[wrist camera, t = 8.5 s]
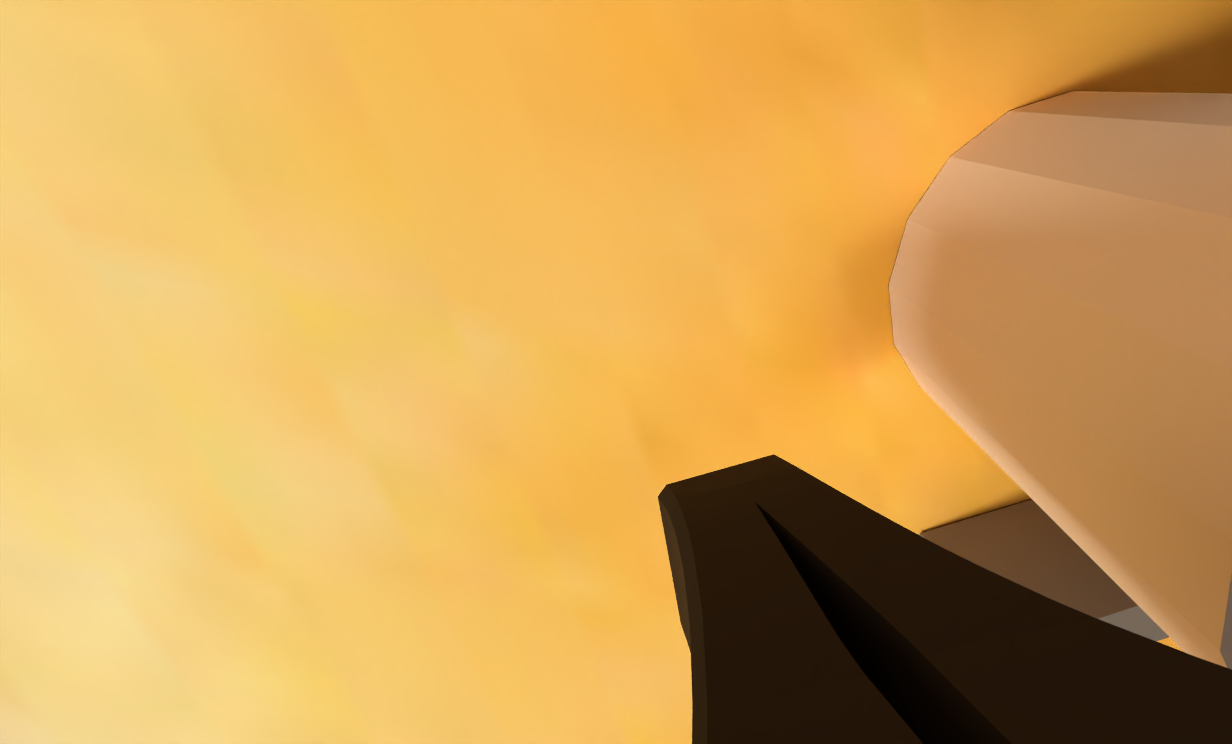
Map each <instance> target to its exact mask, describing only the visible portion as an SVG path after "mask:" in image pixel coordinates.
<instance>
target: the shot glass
mask: <svg viewBox="0 0 1232 744" xmlns="http://www.w3.org/2000/svg"><path fill="white" fill-rule="evenodd" d="M889 294H890V305H891V316H892V327H893V339H894V345H895V347H896V348H897V350H898V351H899V353H900V355H901V356H902V358H903V360H904V361H905V363H906V365H907V366H908V368H909V369H910V371H911V373H912V374H913V376H914V378H915V379H916V381H917V383H918V384H919V386H920V387H921V388H922V389H923V390H924V391H925V392H926V393H927V394H928V395H929V396H930V397H931V398H932V399H933V400H934V401H935V402H936V403H937V404H938V405H939V406H940V407H941V408H942V409H943V410H944V411H945V412H946V413H947V414H948V415H949V416H950V417H951V418H952V419H953V420H954V421H955V422H956V423H957V424H958V425H959V426H960V427H961V428H962V429H963V430H964V431H965V432H966V433H967V434H968V435H969V436H970V437H971V438H972V439H973V440H974V441H975V442H976V443H977V444H978V445H979V446H980V447H981V448H982V449H983V450H984V451H985V452H986V453H987V454H988V455H989V456H990V457H991V459H992V460H993V461H994V462H995V463H996V464H997V465H998V466H999V467H1000V468H1001V469H1002V470H1003V471H1004V472H1005V473H1006V474H1007V475H1008V476H1009V477H1010V478H1011V479H1012V480H1013V481H1014V482H1015V483H1016V484H1017V485H1018V486H1019V487H1020V488H1021V489H1022V490H1023V491H1024V492H1025V493H1026V494H1027V495H1028V496H1029V497H1030V498H1031V499H1032V500H1033V501H1034V502H1035V503H1036V504H1037V505H1038V506H1039V507H1040V508H1041V509H1042V510H1043V511H1044V512H1045V513H1046V514H1047V515H1048V516H1049V517H1050V518H1051V519H1052V520H1053V521H1054V522H1055V523H1056V524H1057V525H1058V526H1059V527H1060V528H1061V529H1062V530H1063V531H1064V532H1065V533H1066V534H1067V535H1068V536H1069V537H1070V538H1071V539H1072V540H1073V541H1074V542H1075V543H1076V544H1077V545H1078V546H1079V547H1080V548H1081V549H1082V550H1083V551H1084V552H1085V553H1086V554H1087V555H1088V556H1089V557H1090V558H1091V559H1092V560H1093V561H1094V562H1095V563H1096V564H1097V565H1098V566H1099V567H1100V568H1101V569H1102V570H1103V571H1104V572H1105V573H1106V574H1107V575H1108V576H1109V577H1110V578H1111V579H1112V580H1113V581H1114V582H1115V583H1116V584H1117V585H1118V586H1119V587H1120V588H1121V589H1122V590H1123V591H1124V592H1125V593H1126V594H1127V595H1128V596H1129V597H1130V598H1131V599H1132V600H1133V601H1134V602H1135V603H1136V604H1137V605H1138V606H1139V607H1140V608H1141V609H1142V610H1143V611H1144V612H1145V613H1146V614H1147V615H1148V616H1149V617H1150V618H1151V619H1152V620H1153V621H1154V622H1155V623H1156V624H1157V625H1158V626H1159V627H1160V628H1161V629H1162V630H1163V631H1164V632H1165V633H1166V634H1167V635H1168V636H1169V637H1170V638H1171V639H1172V640H1173V641H1174V642H1175V643H1176V644H1177V645H1178V646H1179V647H1180V648H1181V649H1182V650H1183V651H1184V652H1185V653H1187V654H1190V655H1192V656H1195V657H1198V658H1201V659H1204V660H1206V661H1209V662H1212V663H1215V664H1218V665H1221V666H1223V667H1226V668H1229V669H1232V94H1228V93H1163V92H1097V91H1071V92H1068V93H1065V94H1062V95H1059V96H1055V97H1052V98H1049V99H1046V100H1043V101H1039V102H1036V103H1033V104H1030V105H1027V106H1023V107H1020V108H1017V109H1014V110H1010V111H1008V112H1007V113H1006V114H1004V115H1003V116H1002V117H1000V118H999V119H998V120H997V121H995V122H994V123H993V124H992V125H990V126H989V127H988V128H986V129H985V130H984V131H983V132H981V133H980V134H979V135H977V136H976V137H975V138H974V139H972V140H971V141H970V142H968V143H967V144H966V145H965V146H963V147H962V148H961V149H959V150H958V151H957V152H956V153H954V154H953V155H952V156H950V158H949V159H948V161H947V162H946V164H945V165H944V166H943V168H942V169H941V171H940V172H939V174H938V175H937V177H936V178H935V180H934V181H933V183H932V184H931V186H930V187H929V189H928V190H927V192H926V193H925V194H924V196H923V197H922V199H921V200H920V202H919V203H918V205H917V206H916V208H915V209H914V211H913V212H912V214H911V215H910V217H909V218H908V220H907V224H906V227H905V231H904V234H903V237H902V241H901V244H900V248H899V251H898V255H897V258H896V262H895V265H894V269H893V272H892V276H891V279H890V283H889Z"/></svg>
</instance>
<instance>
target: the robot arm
mask: <svg viewBox="0 0 1232 744" xmlns="http://www.w3.org/2000/svg"><path fill="white" fill-rule="evenodd" d="M658 500H659V505H660V511H661V516H662V522H663V527H664V533H665V538H666V544H667V549H668V555H669V560H670V566H671V571H672V577H673V582H674V588H675V593H676V599H677V604H678V610H679V615H680V621H681V625H682V628H683V631H684V633H685V636H686V639H687V642H688V645H689V649H690V652H691V669H692V700H693V719H692V744H1232V669H1229V668H1226V667H1223V666H1221V665H1218V664H1215V663H1212V662H1209V661H1206V660H1204V659H1201V658H1198V657H1195V656H1192V655H1190V654H1187V653H1185V652H1182V651H1179V650H1177V649H1174V648H1172V647H1169V646H1166V645H1164V644H1161V643H1159V642H1156V641H1154V640H1151V639H1148V638H1146V637H1143V636H1141V635H1138V634H1136V633H1133V632H1130V631H1128V630H1125V629H1123V628H1120V627H1117V626H1115V625H1112V624H1110V623H1107V622H1105V621H1102V620H1099V619H1097V618H1095V617H1092V616H1090V615H1087V614H1085V613H1083V612H1080V611H1078V610H1076V609H1073V608H1071V607H1069V606H1066V605H1064V604H1061V603H1059V602H1057V601H1055V600H1052V599H1050V598H1048V597H1046V596H1044V595H1041V594H1039V593H1037V592H1035V591H1033V590H1031V589H1028V588H1026V587H1024V586H1022V585H1020V584H1018V583H1015V582H1013V581H1011V580H1009V579H1007V578H1005V577H1002V576H1000V575H998V574H996V573H994V572H992V571H989V570H987V569H985V568H983V567H981V566H979V565H977V564H975V563H973V562H971V561H969V560H967V559H965V558H963V557H961V556H959V555H957V554H955V553H953V552H951V551H949V550H947V549H945V548H943V547H941V546H939V545H937V544H935V543H933V542H931V541H929V540H927V539H925V538H923V537H921V536H920V535H918V534H916V533H914V532H912V531H910V530H908V529H906V528H904V527H903V526H901V525H899V524H897V523H895V522H893V521H891V520H890V519H888V518H886V517H884V516H882V515H880V514H879V513H877V512H875V511H873V510H871V509H870V508H868V507H866V506H864V505H862V504H861V503H859V502H857V501H855V500H854V499H852V498H850V497H848V496H846V495H845V494H843V493H841V492H839V491H838V490H836V489H834V488H832V487H831V486H829V485H827V484H825V483H824V482H822V481H820V480H818V479H817V478H815V477H813V476H811V475H810V474H808V473H806V472H804V471H803V470H801V469H799V468H797V467H796V466H794V465H792V464H790V463H789V462H787V461H785V460H783V459H781V458H779V457H778V456H776V455H770V456H767V457H763V458H760V459H756V460H753V461H749V462H746V463H742V464H739V465H735V466H731V467H728V468H724V469H721V470H717V471H714V472H710V473H707V474H703V475H700V476H696V477H692V478H689V479H685V480H682V481H678V482H675V483H671V484H668V485H666V486H665V488H664V489H663V490H662V492H661V493H660V494H659V496H658Z"/></svg>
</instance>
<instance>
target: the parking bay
mask: <svg viewBox="0 0 1232 744" xmlns="http://www.w3.org/2000/svg"><path fill="white" fill-rule="evenodd" d="M920 536H921V537H923V538H925V539H927V540H929V541H931V542H933V543H935V544H937V545H939V546H941V547H943V548H945V549H947V550H949V551H951V552H953V553H955V554H957V555H959V556H961V557H963V558H965V559H967V560H969V561H971V562H973V563H975V564H977V565H979V566H981V567H983V568H985V569H987V570H989V571H992V572H994V573H996V574H998V575H1000V576H1002V577H1005V578H1007V579H1009V580H1011V581H1013V582H1015V583H1018V584H1020V585H1022V586H1024V587H1026V588H1028V589H1031V590H1033V591H1035V592H1037V593H1039V594H1041V595H1044V596H1046V597H1048V598H1050V599H1052V600H1055V601H1057V602H1059V603H1061V604H1064V605H1066V606H1069V607H1071V608H1073V609H1076V610H1078V611H1080V612H1083V613H1085V614H1087V615H1090V616H1092V617H1095V618H1097V619H1099V620H1102V621H1105V622H1107V623H1110V624H1112V625H1115V626H1117V627H1120V628H1123V629H1125V630H1128V631H1130V632H1133V633H1136V634H1138V635H1141V636H1143V637H1146V638H1148V639H1151V640H1154V641H1159V640H1162V639H1165V638H1168V637H1169V636H1168V635H1167V634H1166V633H1165V632H1164V631H1163V630H1162V629H1161V628H1160V627H1159V626H1158V625H1157V624H1156V623H1155V622H1154V621H1153V620H1152V619H1151V618H1150V617H1149V616H1148V615H1147V614H1146V613H1145V612H1144V611H1143V610H1142V609H1141V608H1140V607H1139V606H1138V605H1137V604H1136V603H1135V602H1134V601H1133V600H1132V599H1131V598H1130V597H1129V596H1128V595H1127V594H1126V593H1125V592H1124V591H1123V590H1122V589H1121V588H1120V587H1119V586H1118V585H1117V584H1116V583H1115V582H1114V581H1113V580H1112V579H1111V578H1110V577H1109V576H1108V575H1107V574H1106V573H1105V572H1104V571H1103V570H1102V569H1101V568H1100V567H1099V566H1098V565H1097V564H1096V563H1095V562H1094V561H1093V560H1092V559H1091V558H1090V557H1089V556H1088V555H1087V554H1086V553H1085V552H1084V551H1083V550H1082V549H1081V548H1080V547H1079V546H1078V545H1077V544H1076V543H1075V542H1074V541H1073V540H1072V539H1071V538H1070V537H1069V536H1068V535H1067V534H1066V533H1065V532H1064V531H1063V530H1062V529H1061V528H1060V527H1059V526H1058V525H1057V524H1056V523H1055V522H1054V521H1053V520H1052V519H1051V518H1050V517H1049V516H1048V515H1047V514H1046V513H1045V512H1044V511H1043V510H1042V509H1041V508H1040V507H1039V506H1038V505H1037V504H1036V503H1035V502H1034V501H1033V500H1028V501H1025V502H1022V503H1018V504H1015V505H1012V506H1009V507H1005V508H1002V509H999V510H995V511H992V512H989V513H985V514H982V515H979V516H976V517H972V518H969V519H966V520H962V521H959V522H956V523H952V524H949V525H946V526H943V527H939V528H936V529H933V530H929V531H926V532H923V533H920Z"/></svg>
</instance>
